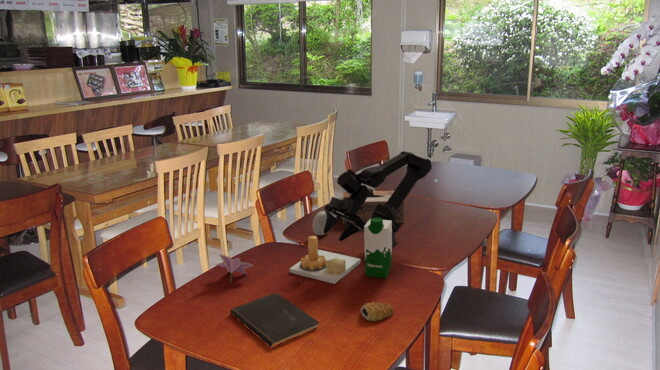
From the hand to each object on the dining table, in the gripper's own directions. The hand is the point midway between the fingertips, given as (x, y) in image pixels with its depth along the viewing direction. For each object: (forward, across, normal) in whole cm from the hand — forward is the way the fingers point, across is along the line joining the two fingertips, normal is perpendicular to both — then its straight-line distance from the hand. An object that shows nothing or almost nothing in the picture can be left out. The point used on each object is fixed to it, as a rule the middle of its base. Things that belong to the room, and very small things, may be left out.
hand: (331, 236), depth 189 cm
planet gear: (+12, 0, 0) cm, 12 cm away
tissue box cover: (-21, -26, +36) cm, 49 cm away
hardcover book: (+33, +21, -18) cm, 43 cm away
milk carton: (+2, +16, +12) cm, 21 cm away
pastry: (+15, +37, 0) cm, 40 cm away
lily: (+30, -11, -16) cm, 36 cm away
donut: (-1, -24, +16) cm, 29 cm away
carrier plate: (+10, +2, +4) cm, 11 cm away
